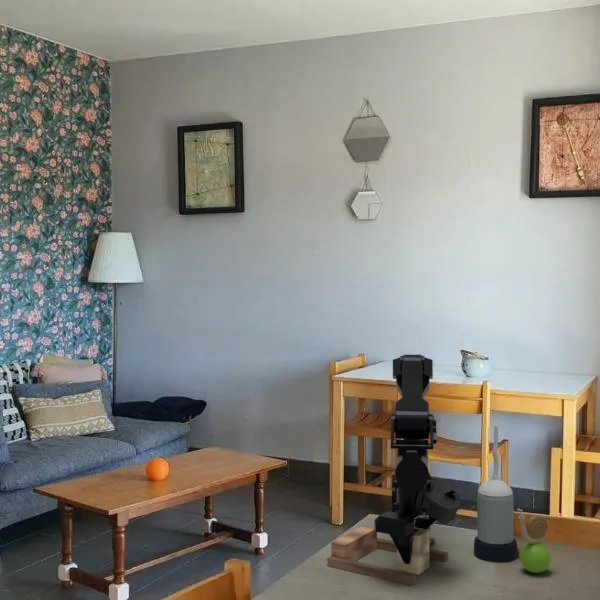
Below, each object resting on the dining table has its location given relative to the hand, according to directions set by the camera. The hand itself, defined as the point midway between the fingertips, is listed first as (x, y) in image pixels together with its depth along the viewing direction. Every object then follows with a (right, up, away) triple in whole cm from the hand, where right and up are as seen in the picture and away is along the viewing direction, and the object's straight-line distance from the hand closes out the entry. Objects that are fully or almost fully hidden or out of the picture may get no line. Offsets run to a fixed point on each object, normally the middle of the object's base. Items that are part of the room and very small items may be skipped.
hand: (413, 559), depth 149 cm
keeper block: (0, -2, 0) cm, 2 cm away
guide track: (-4, -2, +3) cm, 5 cm away
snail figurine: (+21, -2, -3) cm, 22 cm away
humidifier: (+17, -1, +7) cm, 18 cm away
